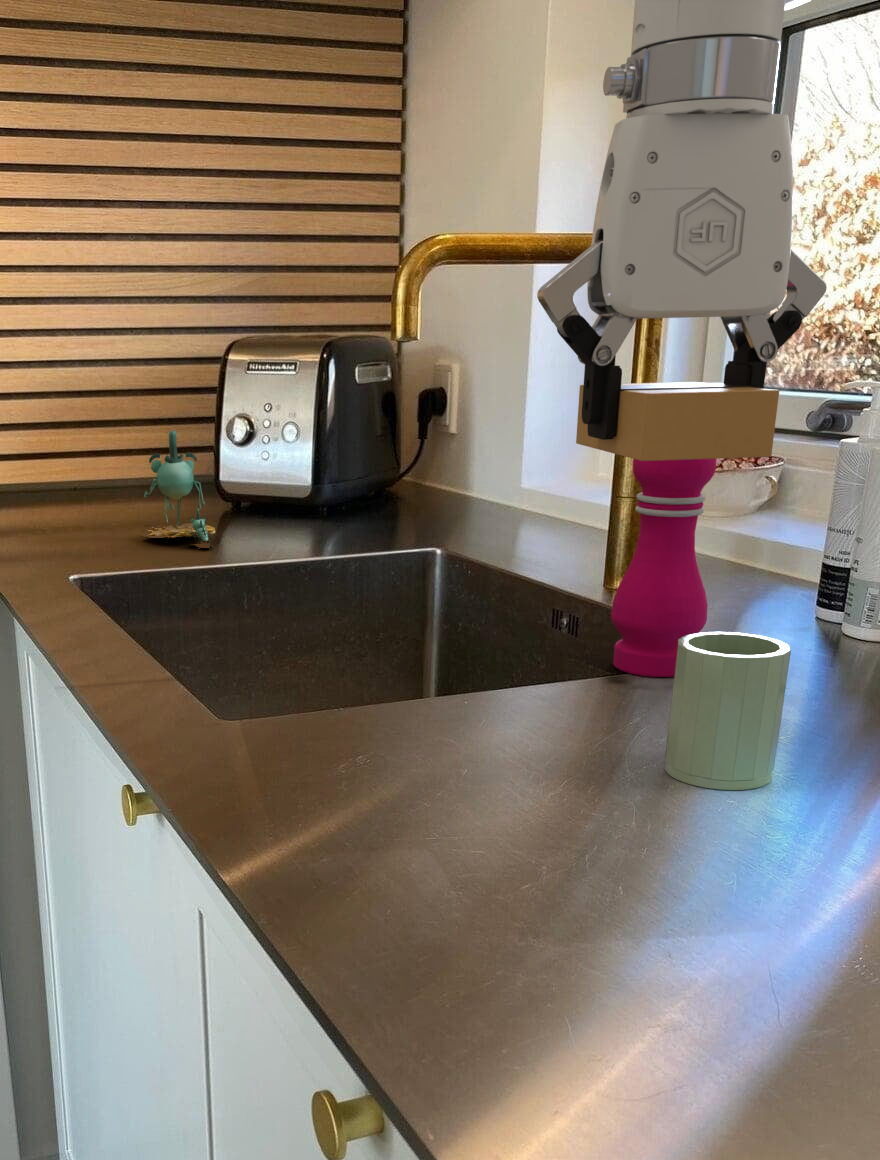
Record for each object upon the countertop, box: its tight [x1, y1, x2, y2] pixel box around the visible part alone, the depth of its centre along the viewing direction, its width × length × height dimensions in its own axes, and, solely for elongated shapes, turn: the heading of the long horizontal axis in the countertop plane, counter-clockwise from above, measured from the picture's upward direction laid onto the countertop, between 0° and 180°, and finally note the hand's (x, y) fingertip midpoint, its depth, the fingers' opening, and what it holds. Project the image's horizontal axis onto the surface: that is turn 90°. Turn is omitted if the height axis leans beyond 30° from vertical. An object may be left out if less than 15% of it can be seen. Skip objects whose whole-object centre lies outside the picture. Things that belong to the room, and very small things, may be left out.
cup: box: [664, 631, 792, 791], centre depth 73 cm, size 6×6×8 cm
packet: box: [575, 381, 780, 461], centre depth 71 cm, size 11×7×4 cm
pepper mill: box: [610, 459, 717, 678], centre depth 93 cm, size 7×7×20 cm
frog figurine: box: [143, 429, 216, 550], centre depth 156 cm, size 10×18×15 cm, turn 13°
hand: (669, 433), depth 71 cm, fingers closed on packet, 7 cm apart
